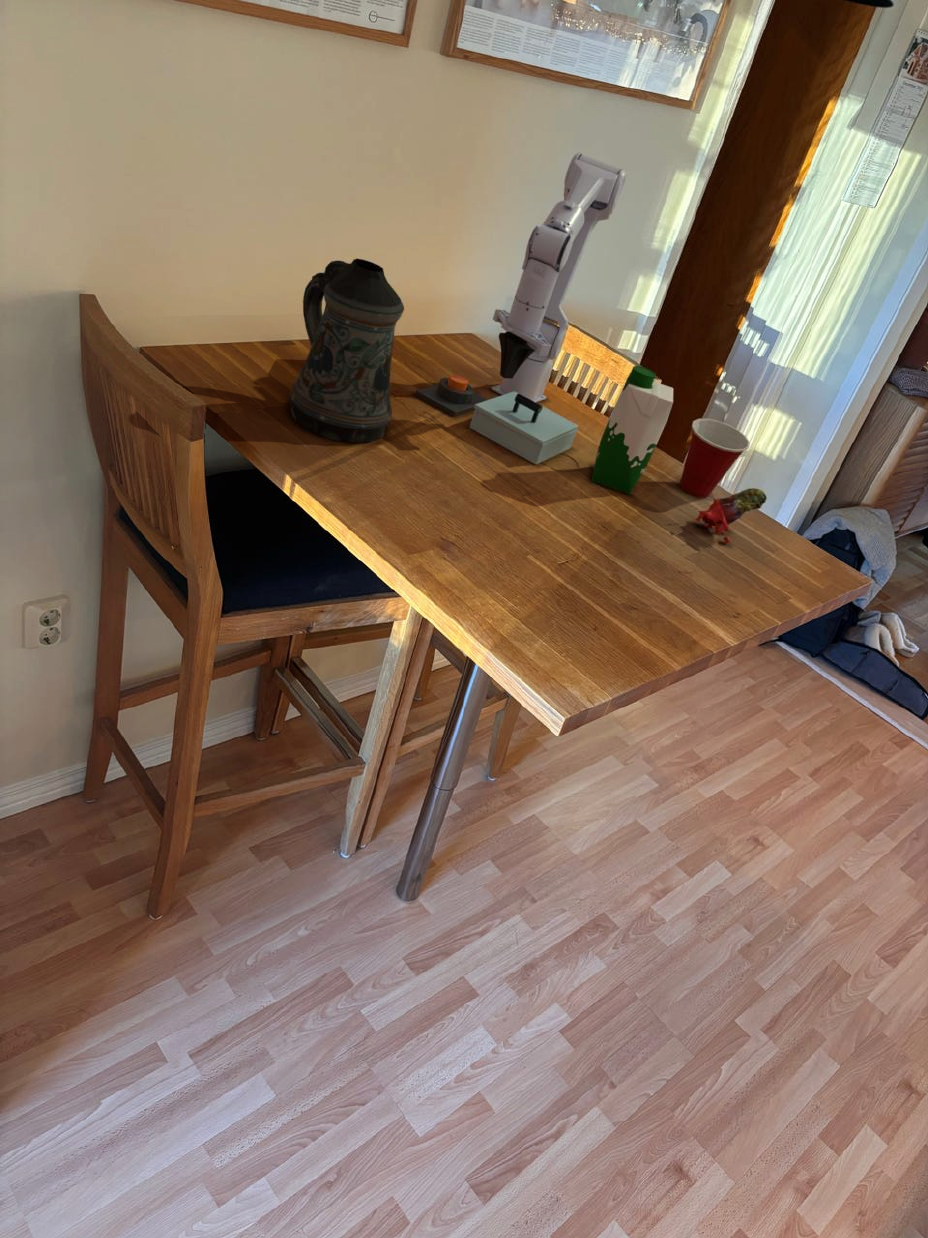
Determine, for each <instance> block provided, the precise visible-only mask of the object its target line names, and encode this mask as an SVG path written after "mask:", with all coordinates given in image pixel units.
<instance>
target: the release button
mask: <svg viewBox="0 0 928 1238" xmlns="http://www.w3.org/2000/svg"><path fill="white" fill-rule="evenodd" d="M448 378H449V379H448V383H447V385H448V386H449V387H450V388H452V389H455V390H458V391H466V388H467V384H469V380H468V379H467V378H466V377H464V376H462V375H459V374H450V375H449V376H448Z"/></svg>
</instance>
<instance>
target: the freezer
mask: <svg viewBox="0 0 928 1238" xmlns="http://www.w3.org/2000/svg"><path fill="white" fill-rule="evenodd" d="M469 428H470V429H472V430H473V431H475V432H477V433H479V434H480V435H482V436H484V437H485V438H487V439H489V440H491V441H492V442H495V443H497V444H498V445H500V446H502V447H503V448H504V449H507V450H508V451H511V452H512V453H514V454H516V455H518V456H520V457H521V458H523V459H525V460H526V461H528V462H530V463H532V464H534V465H535V466H536V465H539V464H541V463H543V462H545V461H546V460H550V459H551V458H553V457H555V456H557V455H559V454H561V453H564V452H565V451H569V450H570V449H571V448H572V445H573V443H574V440H575V437H576V435H577V432H578V429H577V430H574V431H572V432H570V433H568V434H565V435H563V436H561V437H559V438H557V439H554V440H552V441H550V442H548V443H545V444H543V445H541V444H539V443H537V442H535V441H533V440H531V439H530V438H528V437H526V436H524V435H522V434H521V433H519V432H517V431H515V430H513V429H511V428H510V427H508V426H506V425H504V424H502V423H501V422H499V421H497V420H495V419H493V418H491V417H490V416H488V415H486V414H484V413H482V412H480V411H479V410H477V409H475V410H473V415H472V418H471V421H470V424H469Z"/></svg>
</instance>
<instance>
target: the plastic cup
mask: <svg viewBox="0 0 928 1238" xmlns="http://www.w3.org/2000/svg"><path fill="white" fill-rule="evenodd" d="M691 429H692V434H691V439H690V444H689V447H688V452H687V455H686V458H685V462H684V465H683V470H682V474H681V476H680V481H679V482H680V483H679V487H680V488H681V489H682V490H683V491H685V493H688V494H689V495H691V496H694V497H697V498H701V499H702V498H703V499H705V498H708V497H709V496H710V495H711V494H712V493H713V491H714V490H715V488H717V486H718V484H719V483H720V482H721V481H722V480H723V478H724V477H725V476H726V474H727V473H728V472H729V470H730V469H731V468H732V466H733V465H734V463H735V462H736V461H737V460H738V459H739V458H740V456H741V455H742V454H743V453H744V452H746V451H747V450H748V449H749V448H750V445H751V443H750V440H749V439H748V437H747V436H746V435H745V434H744V433H743V432H741V431H740V430H739V429H737V428H735V427H733V426H732V425H730V424H728V423H725V422H723V421H720V420H717V419H711V418H697V419H695V420H693V421H692V424H691Z"/></svg>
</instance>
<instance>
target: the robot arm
mask: <svg viewBox="0 0 928 1238" xmlns="http://www.w3.org/2000/svg"><path fill="white" fill-rule="evenodd" d="M626 178H627V172H626V170H625V169H624V168H619V167H616V166H614V165H611V164H608V163H605V162H603V161H600V160H597V159H595V158H592V157H590V156H587V155H585V154H583V152H577V153H576V154H574V155H573V157H572V159H571V160H570V163H569V164H568V168H567V170H566V173H565V177H564V182H563V183H564V187H563V200H561V201H558V202H557V203H556V204H555V205H554V206H553V208H552V209H551V211H550V213H549V214H548V215H547V217H546V219H545V220H544V222H543V223H542V224H540V226H538V225H535V226H534V228H533V229H532V231H531V233H530V236H529V238H528V240H527V243H526V248H525V253H524V259H523V262H522V267H521V270H522V273H521V276H520V280H519V282H518V286H517V288H516V291H515V294H514V298H513V301H512V304H511V308H510V310H509V312H508V311H507V310H506V309H501V308H500V309H499V308H495V310H494V313H493V316H492V320H493V322H496V323H499V324H500V327H501V329H503V330H504V331H505V332H499V334H498V340H499V345H500V346H499V347H500V368H499V376H500V377H501V378H503V379H502V381H501V384H498V385H495V386H492V387H491V390H492V391H493V392H495V393H496V394H499V396H502V395H505V394H508V393H511V392H514V391H515V392H517V393H519V394H521V395H523V396H525V397H527V398H528V399H530V400H532V401H534V402H536V403H538V402H542V401H544V400H547V396H546V395H544V393H545V390H546V388H547V384H548V382H549V379H550V376H551V373H552V371H553V360H555V359H557V357H558V356H559V354H560V352H561V349H562V347H563V345H564V342H565V339H566V335H567V332H568V330H569V326H570V325H569V322H570V321H569V318H568V317H567V315H566V313H565V311H564V309H563V308H562V306H563V304H564V301H565V298H566V296H567V293H568V291H569V287H570V285H571V283H572V281H573V278H574V276H575V273H576V271H577V268H578V267H579V263H580V261H581V258H582V256H583V253H584V251H585V248H586V246H587V243H588V241H589V239H590V237H591V234H592V232H593V231H594V229H595V228H596V226H597V224H598V223H599V222H601V221H606V220H609V219H610V217H611V215H612V214H613V213H614V210H615V208H616V205H617V203H618V200H619V198H620V196H621V194H622V192H623V191H622V190H623V189H624V185H625V183H626ZM548 321H549V322H548Z"/></svg>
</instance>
